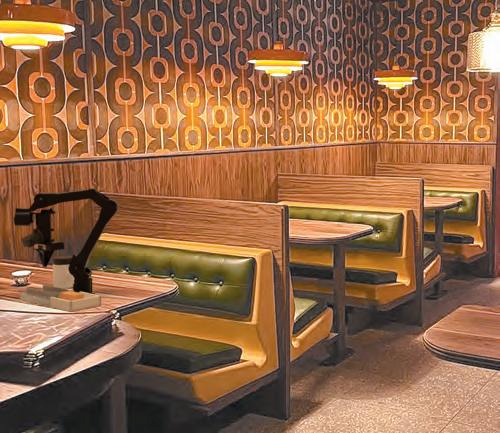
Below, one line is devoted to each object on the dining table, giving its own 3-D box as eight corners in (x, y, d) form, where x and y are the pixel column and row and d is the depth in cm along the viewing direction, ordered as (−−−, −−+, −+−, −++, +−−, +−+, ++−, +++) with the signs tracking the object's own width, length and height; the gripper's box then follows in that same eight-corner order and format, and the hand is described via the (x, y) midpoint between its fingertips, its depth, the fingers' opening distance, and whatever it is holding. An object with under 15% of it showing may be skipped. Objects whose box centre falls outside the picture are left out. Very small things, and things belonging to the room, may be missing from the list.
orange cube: (76, 292, 250) (83, 293, 248) (77, 303, 251) (84, 304, 248) (67, 294, 247) (74, 295, 245) (67, 305, 247) (74, 306, 245)
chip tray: (81, 300, 257) (80, 291, 257) (101, 305, 249) (101, 295, 249) (50, 306, 247) (50, 297, 247) (70, 311, 239) (70, 301, 239)
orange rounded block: (70, 301, 253) (69, 290, 253) (76, 303, 250) (76, 292, 250) (60, 303, 250) (60, 292, 250) (67, 305, 247) (67, 294, 247)
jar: (60, 289, 278) (59, 259, 277) (48, 286, 283) (47, 257, 282) (79, 286, 285) (78, 256, 284) (67, 283, 290) (66, 254, 289)
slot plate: (50, 294, 269) (50, 283, 269) (80, 300, 257) (80, 290, 257) (20, 299, 260) (20, 288, 259) (50, 306, 247) (49, 295, 247)
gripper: (10, 225, 264) (12, 267, 265) (38, 229, 252) (40, 272, 253) (36, 223, 272) (38, 263, 274) (65, 226, 260) (66, 268, 262)
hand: (44, 266), depth 265 cm, fingers closed
